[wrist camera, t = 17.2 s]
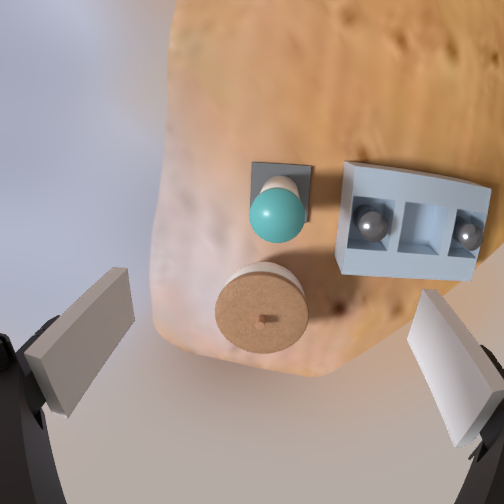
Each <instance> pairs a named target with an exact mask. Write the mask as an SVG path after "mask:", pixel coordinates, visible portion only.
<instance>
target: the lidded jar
mask: <svg viewBox="0 0 504 504" xmlns="http://www.w3.org/2000/svg"><path fill="white" fill-rule="evenodd" d="M215 318H216V322H217V325H218V328H219V329H220V331H221V333H222V334H223V335H224V336H225V338H226V339H228V340H229V341H230V342H231V343H232V344H234V345H235V346H237V347H239V348H241V349H243V350H246V351H249V352H253V353H261V354H262V353H274V352H278V351H281V350H283V349H286V348H288V347H289V346H291V345H293V344H294V343H295V342H296V341H298V340H299V338H300V337H301V336H302V335H303V333H304V331H305V330H306V327H307V324H308V319H309V310H308V305H307V301H306V298H305V293H304V291H303V288H302V286H301V284H300V282H299V281H298V279H297V278H296V277H295V276H294V274H293V273H292V272H290V271H289V270H288V269H286V268H285V267H283V266H281V265H278V264H276V263H272V262H255V263H251V264H248V265H245V266H244V267H242V268H240V269H239V270H237V271H236V272H235V273H234V274H233V275H232V276H231V277H230V278H229V279H228V281H227V282H226V284H225V286H224V287H223V289H222V291H221V293H220V294H219V297H218V299H217V302H216V306H215Z"/></svg>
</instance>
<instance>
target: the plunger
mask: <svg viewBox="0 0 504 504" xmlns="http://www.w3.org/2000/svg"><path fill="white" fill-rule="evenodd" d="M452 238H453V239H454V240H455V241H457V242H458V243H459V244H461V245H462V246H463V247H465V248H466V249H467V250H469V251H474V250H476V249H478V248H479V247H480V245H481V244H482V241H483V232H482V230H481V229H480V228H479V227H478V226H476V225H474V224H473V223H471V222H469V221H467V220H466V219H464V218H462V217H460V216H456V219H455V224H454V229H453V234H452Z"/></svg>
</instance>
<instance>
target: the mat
mask: <svg viewBox="0 0 504 504" xmlns="http://www.w3.org/2000/svg"><path fill="white" fill-rule="evenodd" d="M277 175H282V176H286V177H289V178H290V179H292V180H293V181H294V182H295V184H296V185H297V188H298V192H299V197H300V200H301V202H302V204H303V207H304V212H305V221H304V223H307V214H308V203H309V190H310V177H311V166H305V165H292V164H277V163H259V162H252V170H251V196H250V209H251V206H252V204H253V202H254V200H255V198H256V197H257V196H258V195H259V194H260V192H261V190H262V187H263V185H264V184H265V182H266V181H267V180H268V179H269V178H271V177H273V176H277Z"/></svg>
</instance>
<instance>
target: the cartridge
mask: <svg viewBox="0 0 504 504" xmlns="http://www.w3.org/2000/svg"><path fill="white" fill-rule="evenodd" d="M249 216H250V223H251V226H252V228H253V230H254V231H255V233H256V234H257V235H258V236H259V237H261V238H262V239H264V240H266V241H269V242H273V243H283V242H286V241H289V240H291V239H293V238H294V237H296V236H297V235H298V234H299V232H300V231H301V229H302V227H303V225H304V221H305V212H304V207H303V204H302V202H301V200H300V197H299V192H298V188H297V185H296V184H295V182H294V181H293V180H292V179H290V178H289V177H286V176H282V175H277V176H273V177H271V178H269V179H268V180H267V181H266V182H265V184H264V185H263V187H262V190H261V192H260V194H259V195H258V196H257V197H256V198H255V200H254V202H253V204H252V206H251V209H250V214H249Z"/></svg>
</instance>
